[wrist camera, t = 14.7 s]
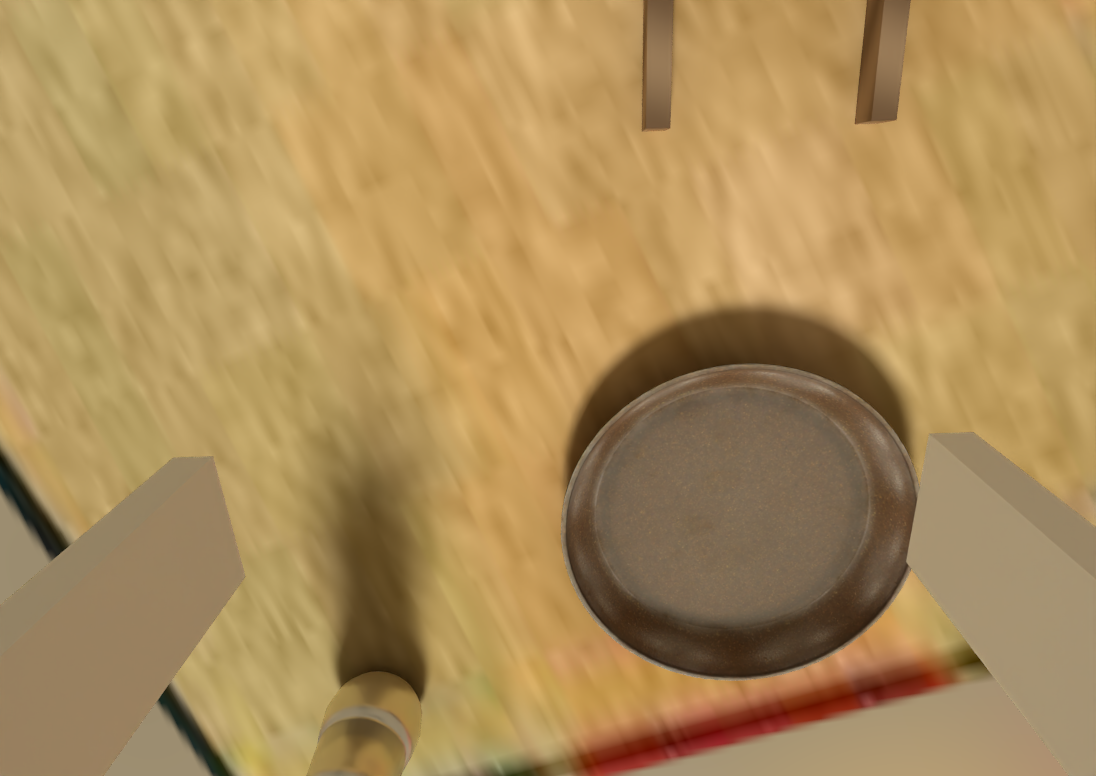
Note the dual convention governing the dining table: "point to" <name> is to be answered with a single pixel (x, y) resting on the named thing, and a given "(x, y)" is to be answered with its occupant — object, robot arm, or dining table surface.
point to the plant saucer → (740, 522)
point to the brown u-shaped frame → (876, 73)
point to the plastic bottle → (368, 728)
